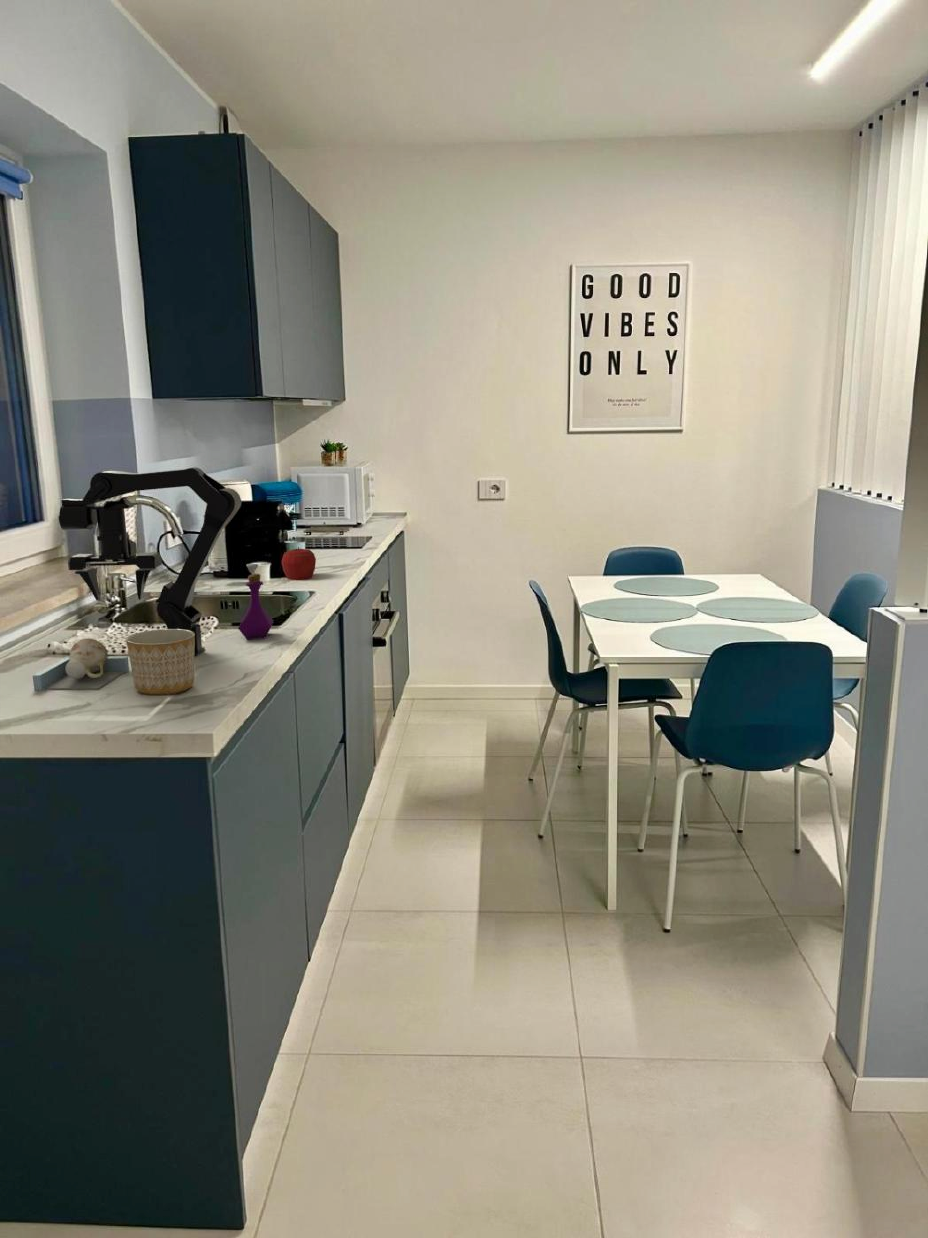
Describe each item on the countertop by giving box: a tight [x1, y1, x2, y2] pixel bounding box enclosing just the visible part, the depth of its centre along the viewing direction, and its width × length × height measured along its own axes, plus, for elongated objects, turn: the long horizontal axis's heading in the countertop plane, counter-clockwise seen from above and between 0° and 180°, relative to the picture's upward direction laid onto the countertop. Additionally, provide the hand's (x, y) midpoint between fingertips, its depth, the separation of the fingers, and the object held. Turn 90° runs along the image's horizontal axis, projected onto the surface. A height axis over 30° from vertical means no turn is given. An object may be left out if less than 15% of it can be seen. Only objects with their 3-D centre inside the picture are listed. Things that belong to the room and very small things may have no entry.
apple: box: [281, 546, 317, 581], centre depth 295 cm, size 11×11×12 cm
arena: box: [32, 656, 130, 691], centre depth 189 cm, size 13×14×3 cm
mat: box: [45, 671, 125, 691], centre depth 188 cm, size 11×12×1 cm
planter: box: [125, 628, 195, 696], centre depth 182 cm, size 13×13×10 cm
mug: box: [65, 638, 109, 679], centre depth 189 cm, size 8×10×10 cm
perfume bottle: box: [237, 563, 274, 640], centre depth 221 cm, size 8×8×18 cm
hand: (119, 599), depth 206 cm, fingers open, 9 cm apart
